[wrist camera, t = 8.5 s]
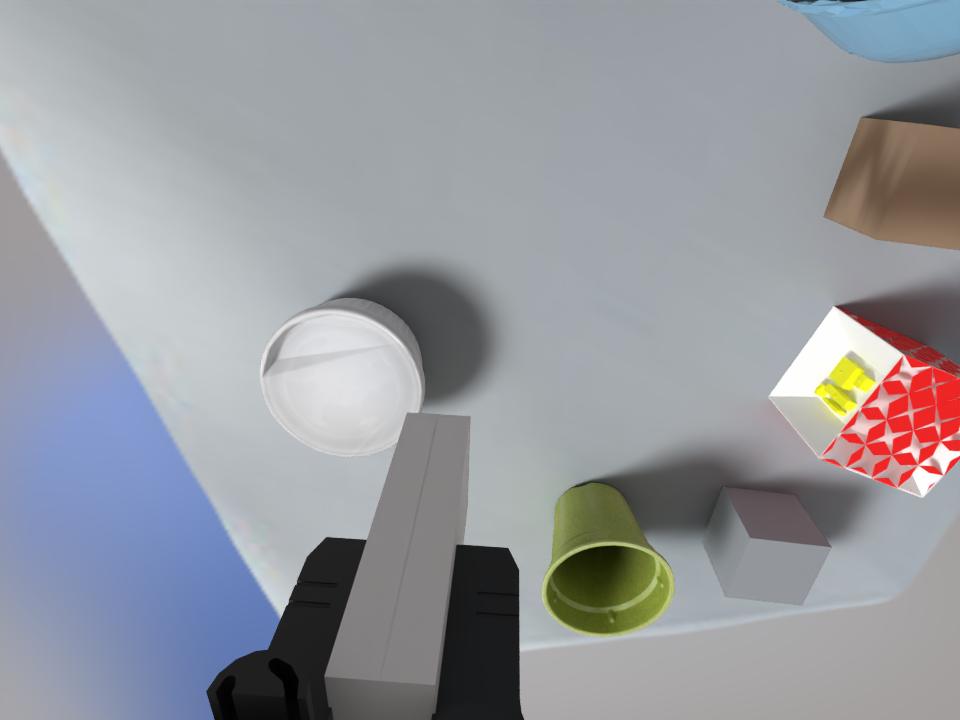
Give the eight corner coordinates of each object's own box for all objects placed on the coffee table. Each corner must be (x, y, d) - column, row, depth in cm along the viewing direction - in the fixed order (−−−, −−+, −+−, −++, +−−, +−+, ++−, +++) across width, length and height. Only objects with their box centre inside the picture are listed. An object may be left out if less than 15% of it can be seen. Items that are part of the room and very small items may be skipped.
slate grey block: (722, 485, 47) (750, 538, 42) (794, 494, 47) (831, 547, 42) (701, 540, 50) (725, 596, 44) (770, 548, 50) (802, 605, 45)
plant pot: (669, 487, 47) (701, 567, 40) (614, 564, 51) (634, 651, 44) (565, 449, 46) (578, 524, 38) (518, 531, 50) (521, 615, 42)
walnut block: (860, 117, 35) (924, 124, 29) (957, 130, 35) (1039, 139, 30) (822, 216, 38) (875, 239, 32) (913, 228, 38) (981, 253, 32)
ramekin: (344, 251, 40) (323, 274, 35) (464, 353, 43) (459, 386, 38) (255, 356, 44) (225, 390, 39) (371, 442, 47) (356, 484, 42)
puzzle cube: (833, 305, 40) (904, 354, 33) (927, 345, 41) (1015, 400, 34) (766, 397, 43) (817, 459, 36) (855, 432, 45) (921, 499, 37)
